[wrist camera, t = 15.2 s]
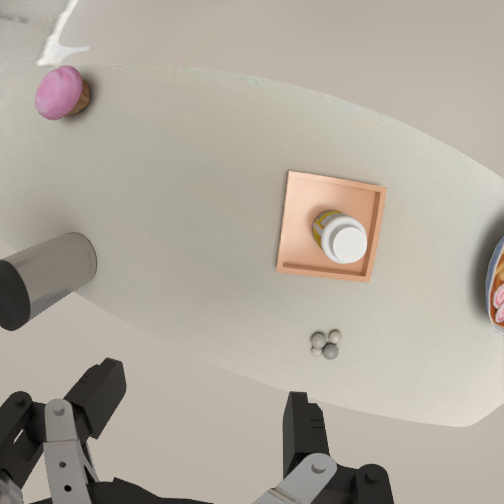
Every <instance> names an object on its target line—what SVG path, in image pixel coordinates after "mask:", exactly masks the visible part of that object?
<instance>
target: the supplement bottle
mask: <svg viewBox="0 0 504 504" xmlns="http://www.w3.org/2000/svg"><path fill="white" fill-rule="evenodd" d="M312 234H313V237H314V240H315V241H316V243H317V244H318V245H319V247H320V248H321V249H322V251H323V252H324V253H325V255H326V256H327V257H328V258H329V259H330V260H332V261H334V262H336V263H340V264H347V263H352V262H356V261H358V260H359V259H360V258H362V256H363V255H364V254H365V252H366V249H367V235H366V231H365V229H364V227H363V225H362V224H361V223H360V222H359V221H358V220H356V219H355V218H353V217H350V216H348V215H346V214H344V213H341V212H339V211H336V210H328V211H324V212H322V213H321V214H319V215H318V216H317V218H316V219H315V221H314V223H313V226H312Z"/></svg>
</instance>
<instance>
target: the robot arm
mask: <svg viewBox="0 0 504 504" xmlns="http://www.w3.org/2000/svg"><path fill="white" fill-rule="evenodd" d="M95 271H96V256H95V252H94V250H93V247H92V245H91V244H90V243H89V241H88V240H87V239H86V238H85V237H84V236H82V235H80V234H78V233H69V234H66V235H64V236H61V237H58V238H55V239H52V240H49V241H47V242H44V243H41V244H39V245H36V246H33V247H31V248H28V249H26V250H23V251H21V252H18V253H16V254H13V255H11V256H9V257H6V258H4V259H1V260H0V326H1V327H2V328H4V329H6V330H9V331H14V330H17V329H19V328H20V327H22V326H23V325H24V324H26V323H27V322H28V321H30V320H31V319H33V318H34V317H36V316H37V315H39V314H40V313H41V312H43V311H44V310H46V309H47V308H49V307H50V306H51V305H53V304H54V303H56V302H58V301H59V300H60V299H62V298H63V297H65V296H67V295H68V294H70V293H71V292H73V291H74V290H76V289H77V288H79V287H80V286H82V285H83V284H85V283H87V282H88V281H89V280H91V279H92V277H93V276H94V274H95ZM125 392H126V381H125V375H124V369H123V364H122V362H121V361H118V360H114V359H111V358H106V359H105V360H104V361H103V362H102V363H101V364H100V365H97V364H96V365H94V366H93V367H91V368H89V369H88V370H87V371H86V372H85V374H84V375H83V376H82V377H81V378H80V379H79V381H78V382H77V383H76V384H75V385H74V386H73V387H72V389H71V390H70V391H69V392H68V393H67V395H66V396H65V397H64V398H63V399H54V400H51V401H50V402H48V403H47V404H43V403H38V402H33V401H32V398H31V396H30V395H29V394H28V393H26V392H23V391H18V392H15V393H13V394H11V395H10V396H9V398H8V399H7V400H6V401H5V402H4V403H3V404H2V406H1V407H0V504H24V502H23V495H22V492H21V489H22V487H23V485H24V484H25V482H26V480H27V479H28V477H29V475H30V473H31V472H32V470H33V468H34V467H35V465H36V463H37V461H38V460H39V458H40V457H41V455H42V453H43V452H44V457H45V464H46V471H47V477H48V482H49V488H50V492H51V498H47V499H44V500H41V501H37V502H34V503H30V504H213V503H207V502H201V501H196V500H192V499H178V498H161V497H158V496H156V495H154V494H152V493H150V492H149V491H147V490H145V489H143V488H141V487H140V486H138V485H135V484H132V483H129V482H127V481H124V480H121V479H118V478H116V477H114V480H113V482H100V481H99V479H98V477H97V475H96V472H95V469H94V465H93V462H92V458H91V455H90V451H89V447H88V443H87V439H88V437H89V436H90V437H92V438H95V439H98V437H99V436H100V434H101V432H102V431H103V429H104V427H105V426H106V424H107V422H108V421H109V419H110V417H111V416H112V414H113V413H114V411H115V409H116V408H117V406H118V405H119V403H120V401H121V400H122V398H123V397H124V395H125ZM21 430H23V432H22V433H21V435H20V436H19V437H18V439H17V440H16V442H15V443H14V440H15V438H16V437H17V435H18V434H19V433H20V431H21ZM252 504H394V501H393V496H392V491H391V486H390V483H389V477H388V474H387V471H386V470H385V469H384V468H383V467H381V466H379V465H376V464H367V465H364V466H362V467H360V468H359V469H354V468H349V467H344V466H341V465H339V464H337V463H336V462H335V461H334V459H333V458H331V456H330V453H329V448H328V442H327V436H326V430H325V424H324V418H323V412H322V410H321V409H320V408H319V406H318V405H317V404H316V403H308V398H307V393H306V392H293V391H290V393H289V396H288V400H287V404H286V408H285V411H284V416H283V481H282V482H281V483H280V484H279V485H277V486H276V487H275V488H271V489H269V490H268V491H267V492H265V493H264V494H263V495H262V496H261V497H260V498H258V499H257V500H256V501H255V502H254V503H252Z"/></svg>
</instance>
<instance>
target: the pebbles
mask: <svg viewBox="0 0 504 504" xmlns="http://www.w3.org/2000/svg"><path fill="white" fill-rule="evenodd" d="M329 340H330V341H331V342H332V343H338V342H340V340H341V334H340V333H339V332H337V331H334V332H332V333H331V334H330V335H329ZM311 343H312V345H313V348H312V351H311V353H312V355H313V356H315V357H318V356H320V355H321V354H322V347H324V346H325V344H326V338H325V336H324V335H322V334H316V335H314V336H313V337H312V340H311ZM337 355H338V348H337V347H336V346H335V345H333V344H329V345H327V346H325V347H324V349H323V356H324V357H325V358H326V359H328V360H332V359H335V358H336V357H337Z"/></svg>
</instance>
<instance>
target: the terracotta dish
mask: <svg viewBox="0 0 504 504" xmlns="http://www.w3.org/2000/svg"><path fill="white" fill-rule="evenodd" d="M386 189H387V188H385V187H381V186H376V185H371V184H366V183H360V182H355V181H349V180H344V179H338V178H332V177H326V176H319V175H313V174H306V173H299V172H292V171H288V176H287V184H286V193H285V201H284V209H283V217H282V225H281V233H280V240H279V248H278V255H277V263H276V272H279V273H287V274H296V275H305V276H314V277H323V278H332V279H341V280H350V281H360V282H369V281H370V277H371V273H372V268H373V264H374V259H375V254H376V249H377V244H378V239H379V234H380V228H381V222H382V216H383V210H384V203H385V196H386ZM328 210H336V211H339V212H341V213H344V214H346V215H348V216H350V217H353V218H355V219H356V220H358V221H359V222H360V223H361V224H362V225H363V227H364V229H365V231H366V235H367V249H366V252H365V254H364V255H363V256H362V258H360V259H359V260H358V261H356V262H352V263H347V264H340V263H336V262H334V261H332V260H330V259H329V258H328V257H327V256H326V255H325V253H324V252H323V251H322V249H321V248H320V247H319V245H318V244H317V243H316V241H315V240H314V237H313V234H312V226H313V223H314V221H315V219H316V218H317V216H318V215H319V214H321V213H322V212H324V211H328Z"/></svg>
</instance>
